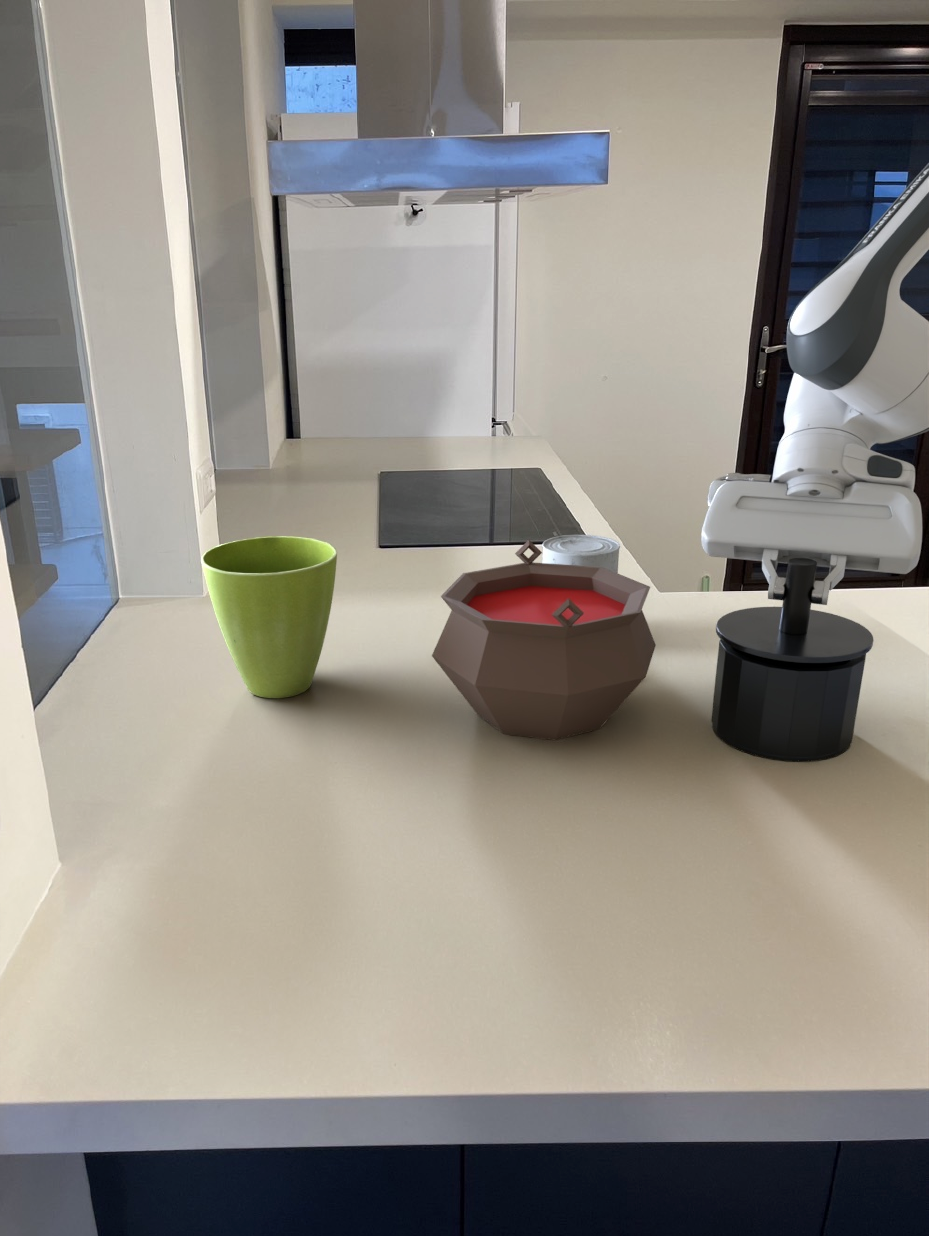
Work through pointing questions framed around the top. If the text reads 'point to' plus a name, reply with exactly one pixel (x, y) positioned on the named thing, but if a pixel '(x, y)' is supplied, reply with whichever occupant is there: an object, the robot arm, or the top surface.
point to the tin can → (582, 551)
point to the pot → (785, 705)
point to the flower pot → (273, 608)
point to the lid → (795, 626)
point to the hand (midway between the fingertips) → (797, 599)
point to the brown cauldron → (545, 645)
